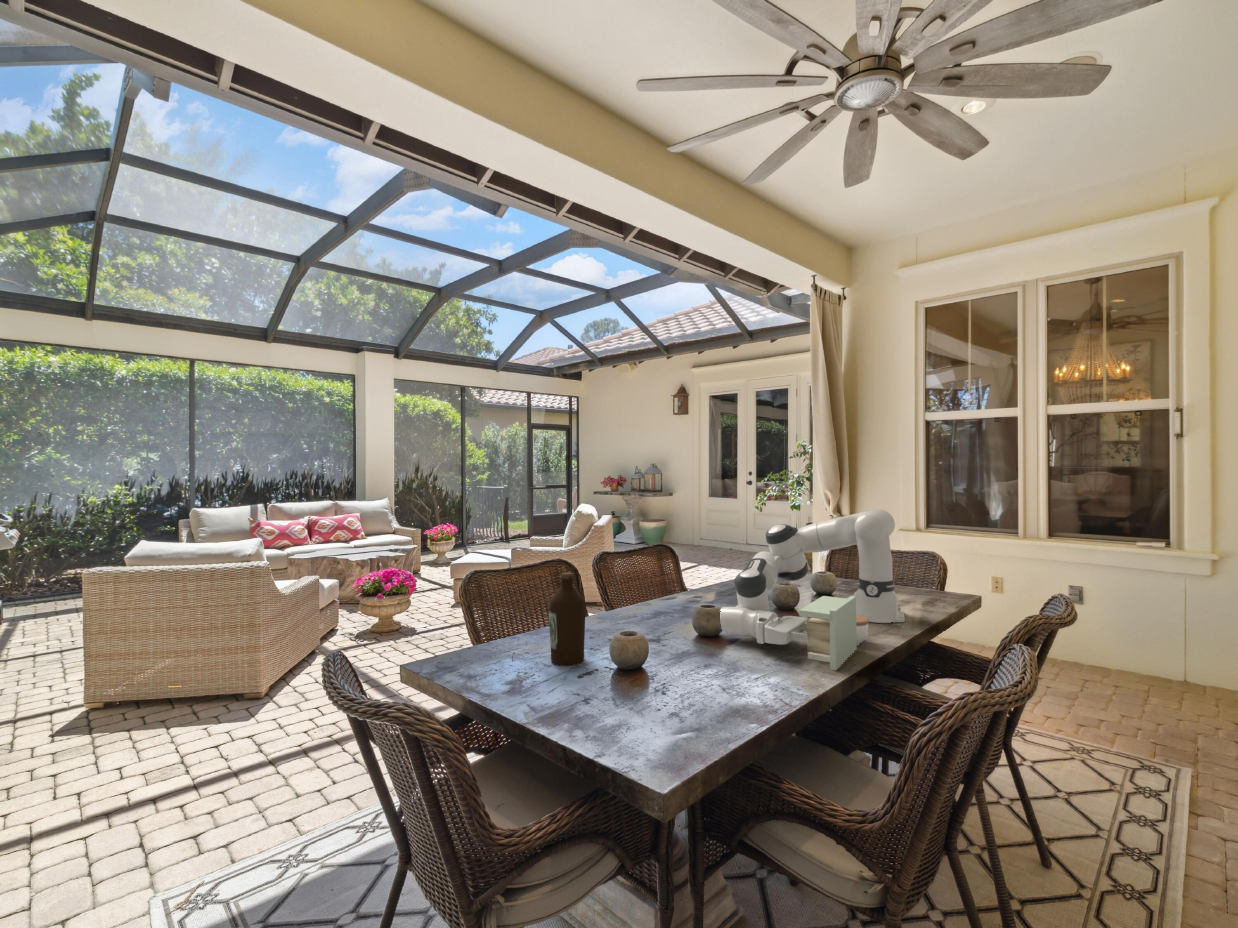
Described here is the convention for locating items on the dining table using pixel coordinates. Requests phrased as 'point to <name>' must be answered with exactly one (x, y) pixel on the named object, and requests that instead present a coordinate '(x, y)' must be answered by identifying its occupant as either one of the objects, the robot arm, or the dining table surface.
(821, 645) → the birch box
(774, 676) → the dining table surface
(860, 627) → the lidded jar
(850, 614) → the hutch
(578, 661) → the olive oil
